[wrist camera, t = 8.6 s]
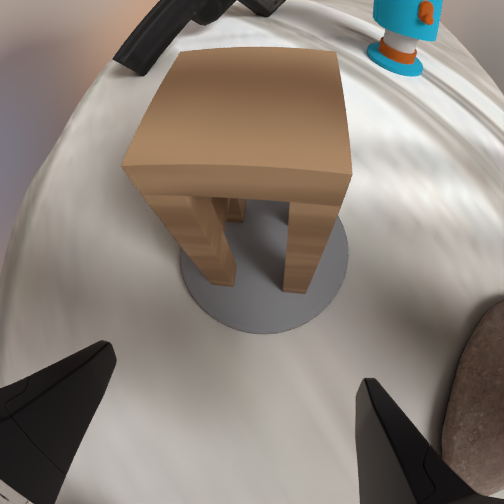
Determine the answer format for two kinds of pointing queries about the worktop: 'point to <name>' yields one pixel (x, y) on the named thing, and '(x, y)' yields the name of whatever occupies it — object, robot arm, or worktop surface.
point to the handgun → (176, 27)
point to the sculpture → (478, 408)
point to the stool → (245, 152)
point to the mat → (267, 274)
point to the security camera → (404, 33)
